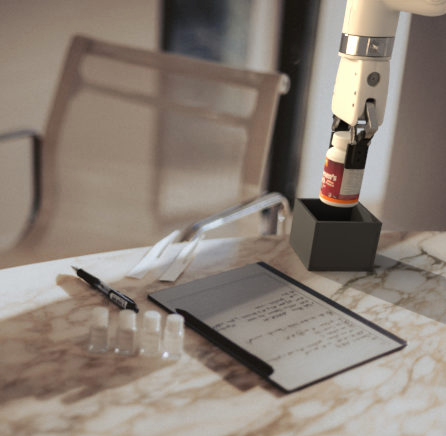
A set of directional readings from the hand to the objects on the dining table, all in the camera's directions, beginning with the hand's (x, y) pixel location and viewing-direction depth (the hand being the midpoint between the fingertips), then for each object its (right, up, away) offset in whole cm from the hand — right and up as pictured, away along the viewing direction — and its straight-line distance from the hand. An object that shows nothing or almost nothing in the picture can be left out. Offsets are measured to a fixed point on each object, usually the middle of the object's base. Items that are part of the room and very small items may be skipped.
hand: (345, 160), depth 100 cm
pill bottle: (0, -7, +3) cm, 7 cm away
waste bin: (-1, -16, +7) cm, 17 cm away
